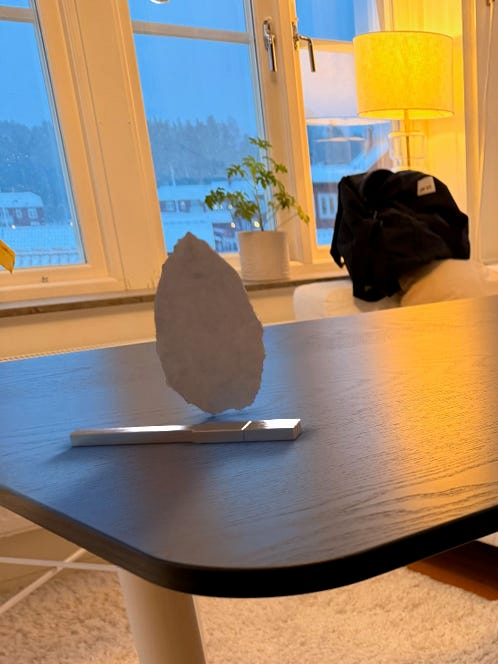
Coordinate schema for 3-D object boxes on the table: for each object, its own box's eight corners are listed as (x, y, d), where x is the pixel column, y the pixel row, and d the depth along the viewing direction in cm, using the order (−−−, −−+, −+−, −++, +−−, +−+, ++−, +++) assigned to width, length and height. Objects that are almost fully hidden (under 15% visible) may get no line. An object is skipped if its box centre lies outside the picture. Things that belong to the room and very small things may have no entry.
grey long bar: (68, 448, 70) (64, 436, 69) (83, 439, 72) (80, 427, 72) (294, 440, 69) (293, 427, 69) (302, 431, 72) (300, 418, 71)
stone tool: (274, 408, 81) (249, 227, 74) (276, 414, 78) (250, 228, 71) (170, 417, 79) (134, 233, 72) (168, 425, 76) (131, 234, 69)
